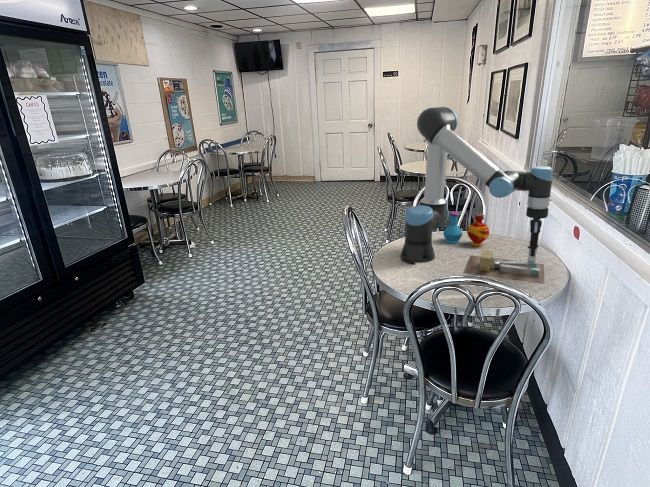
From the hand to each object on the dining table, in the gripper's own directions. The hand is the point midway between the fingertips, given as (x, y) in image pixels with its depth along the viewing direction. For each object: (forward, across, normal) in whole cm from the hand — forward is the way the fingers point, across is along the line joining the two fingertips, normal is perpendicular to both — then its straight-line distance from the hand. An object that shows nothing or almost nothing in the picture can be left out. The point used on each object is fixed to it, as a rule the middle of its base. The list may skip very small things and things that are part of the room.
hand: (531, 262), depth 161 cm
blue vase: (+3, +26, +35) cm, 44 cm away
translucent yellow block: (+1, -8, +17) cm, 19 cm away
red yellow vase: (+3, +24, +23) cm, 34 cm away
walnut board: (+3, -6, +10) cm, 12 cm away
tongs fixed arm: (+1, -9, +9) cm, 12 cm away
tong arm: (+1, -5, +6) cm, 8 cm away
